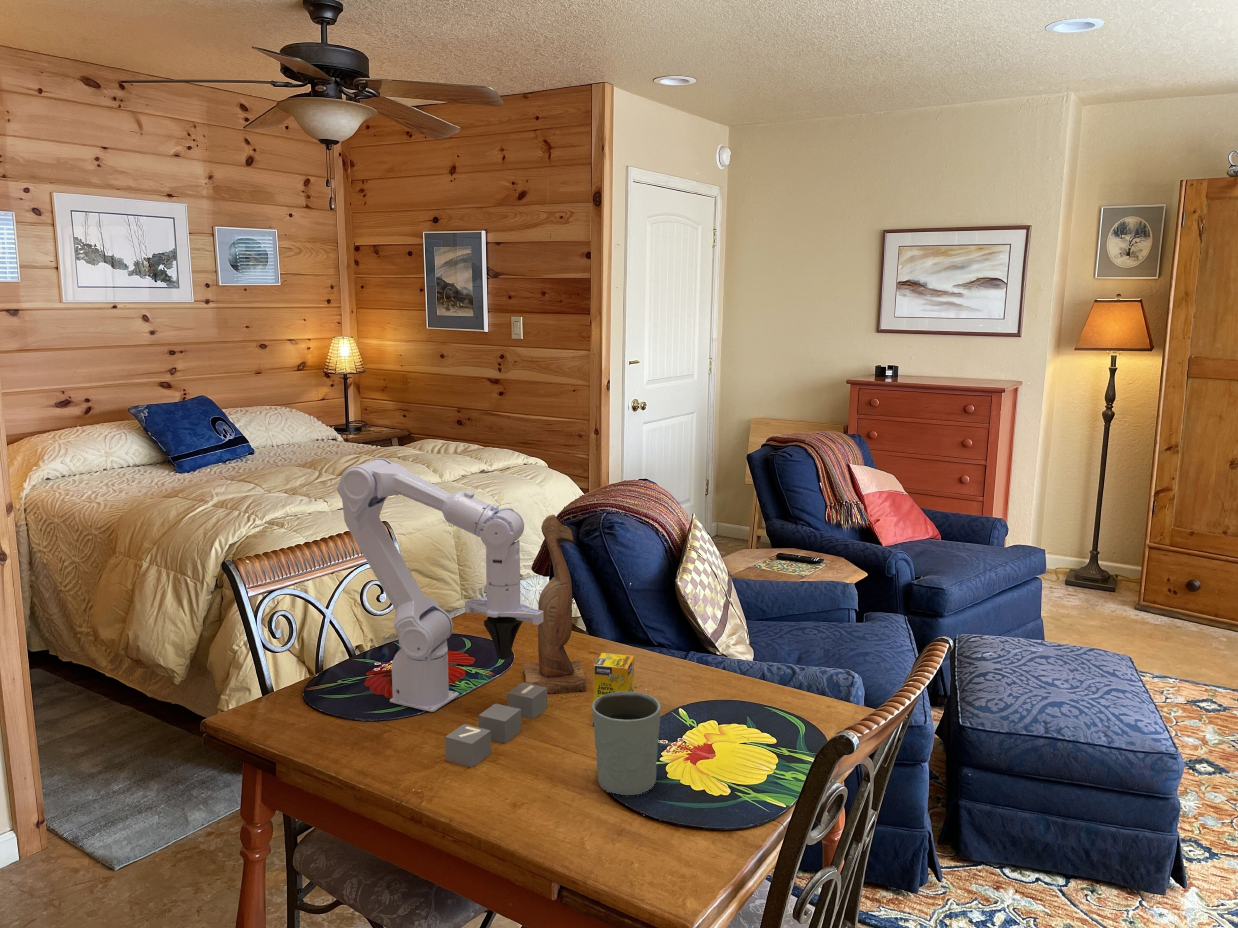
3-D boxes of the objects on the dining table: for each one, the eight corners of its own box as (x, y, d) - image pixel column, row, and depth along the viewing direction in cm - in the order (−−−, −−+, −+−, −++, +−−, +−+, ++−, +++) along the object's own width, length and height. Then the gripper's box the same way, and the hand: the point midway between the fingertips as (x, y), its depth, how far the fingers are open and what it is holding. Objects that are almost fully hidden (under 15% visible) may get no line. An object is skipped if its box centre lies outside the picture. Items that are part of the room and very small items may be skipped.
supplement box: (627, 730, 152) (628, 668, 150) (592, 727, 153) (592, 665, 151) (634, 715, 157) (634, 654, 156) (599, 711, 159) (600, 651, 157)
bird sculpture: (590, 693, 167) (596, 521, 162) (526, 696, 164) (530, 522, 159) (578, 670, 178) (584, 508, 173) (518, 673, 175) (522, 509, 170)
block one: (507, 714, 158) (507, 691, 157) (523, 703, 162) (522, 681, 161) (532, 720, 155) (532, 697, 155) (547, 709, 160) (547, 686, 159)
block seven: (445, 760, 141) (445, 735, 141) (464, 747, 146) (464, 722, 145) (472, 768, 139) (471, 742, 138) (491, 754, 144) (490, 729, 143)
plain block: (478, 738, 149) (478, 715, 148) (495, 725, 153) (495, 703, 153) (505, 744, 147) (505, 721, 146) (521, 731, 151) (521, 708, 151)
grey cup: (637, 806, 129) (638, 726, 127) (577, 785, 134) (578, 708, 132) (671, 775, 137) (673, 700, 135) (614, 757, 143) (615, 684, 141)
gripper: (453, 581, 155) (455, 658, 157) (528, 593, 149) (528, 673, 151) (477, 571, 161) (478, 644, 164) (549, 582, 155) (549, 658, 158)
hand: (504, 657), depth 158 cm, fingers closed
